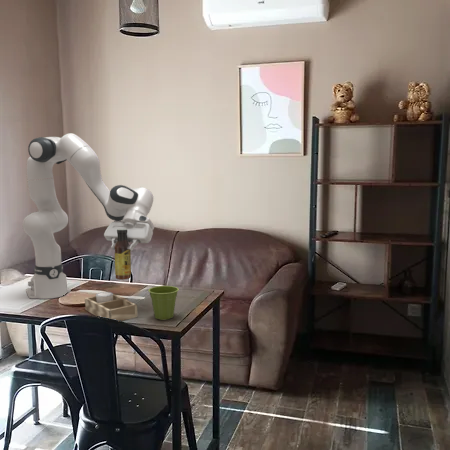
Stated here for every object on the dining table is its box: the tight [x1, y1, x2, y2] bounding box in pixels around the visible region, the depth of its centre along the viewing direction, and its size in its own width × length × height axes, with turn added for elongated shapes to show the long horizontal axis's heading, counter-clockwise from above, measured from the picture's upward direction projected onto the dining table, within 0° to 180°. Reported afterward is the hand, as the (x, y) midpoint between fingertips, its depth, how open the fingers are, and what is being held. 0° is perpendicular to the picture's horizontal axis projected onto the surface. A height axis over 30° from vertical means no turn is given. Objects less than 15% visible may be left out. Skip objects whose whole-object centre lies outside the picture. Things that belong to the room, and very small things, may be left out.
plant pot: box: [147, 285, 180, 321], centre depth 197 cm, size 12×12×11 cm
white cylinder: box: [95, 291, 114, 303], centre depth 206 cm, size 7×7×7 cm
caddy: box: [84, 293, 138, 322], centre depth 202 cm, size 22×12×5 cm, turn 39°
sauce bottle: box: [114, 229, 132, 281], centre depth 200 cm, size 7×6×20 cm
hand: (121, 249), depth 199 cm, fingers closed on sauce bottle, 6 cm apart
